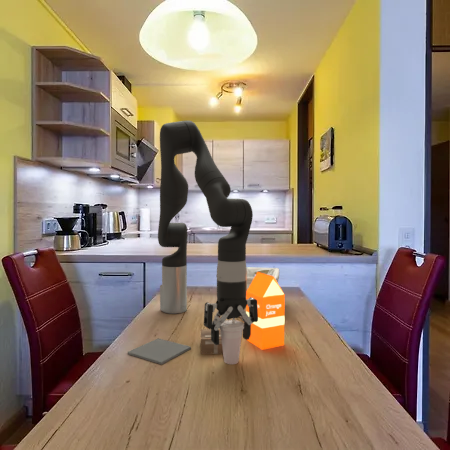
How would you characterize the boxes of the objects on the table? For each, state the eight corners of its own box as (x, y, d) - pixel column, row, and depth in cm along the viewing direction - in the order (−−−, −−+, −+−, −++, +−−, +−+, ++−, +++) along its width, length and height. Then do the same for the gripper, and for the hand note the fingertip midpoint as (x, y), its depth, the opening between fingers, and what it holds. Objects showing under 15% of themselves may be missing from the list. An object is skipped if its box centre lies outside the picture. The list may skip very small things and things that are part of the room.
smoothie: (241, 367, 89) (242, 311, 88) (216, 365, 90) (216, 309, 89) (245, 357, 95) (245, 304, 94) (221, 355, 96) (221, 302, 96)
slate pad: (127, 354, 96) (127, 351, 96) (158, 340, 107) (158, 338, 107) (161, 364, 90) (161, 362, 90) (191, 348, 100) (191, 346, 100)
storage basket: (241, 300, 153) (241, 265, 153) (279, 302, 150) (280, 267, 149) (231, 317, 130) (231, 276, 129) (276, 320, 127) (277, 278, 126)
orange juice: (261, 350, 100) (262, 277, 99) (245, 339, 108) (245, 272, 107) (284, 345, 103) (285, 275, 102) (267, 335, 111) (267, 270, 110)
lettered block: (200, 342, 105) (200, 328, 105) (228, 342, 106) (228, 328, 105) (200, 354, 97) (200, 338, 97) (230, 353, 97) (230, 338, 97)
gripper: (211, 283, 85) (211, 351, 86) (263, 278, 91) (263, 341, 92) (199, 277, 92) (199, 340, 92) (248, 273, 98) (248, 332, 99)
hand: (231, 341), depth 92 cm, fingers open, 8 cm apart
